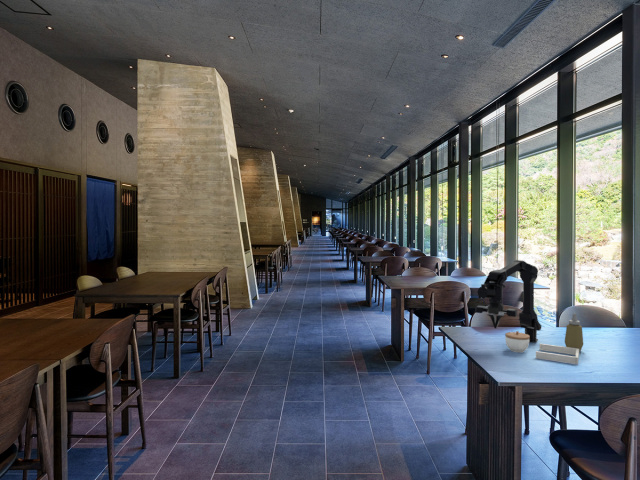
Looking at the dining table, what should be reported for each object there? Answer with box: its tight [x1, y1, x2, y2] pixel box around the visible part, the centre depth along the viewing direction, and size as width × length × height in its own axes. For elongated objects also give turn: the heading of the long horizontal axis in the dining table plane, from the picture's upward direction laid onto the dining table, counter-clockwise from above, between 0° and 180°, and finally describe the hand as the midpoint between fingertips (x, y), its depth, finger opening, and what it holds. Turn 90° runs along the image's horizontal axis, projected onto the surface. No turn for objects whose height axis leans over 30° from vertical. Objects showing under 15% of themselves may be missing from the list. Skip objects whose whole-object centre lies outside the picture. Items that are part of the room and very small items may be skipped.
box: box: [535, 343, 580, 366], centre depth 199 cm, size 17×16×3 cm
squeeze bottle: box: [564, 312, 584, 352], centre depth 210 cm, size 8×8×18 cm
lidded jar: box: [504, 330, 530, 353], centre depth 209 cm, size 11×11×9 cm
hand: (495, 328), depth 214 cm, fingers closed
